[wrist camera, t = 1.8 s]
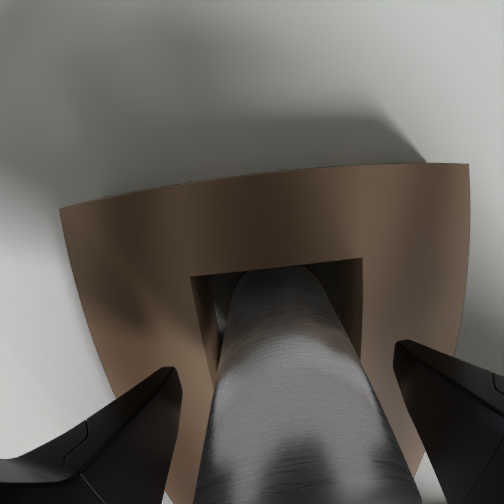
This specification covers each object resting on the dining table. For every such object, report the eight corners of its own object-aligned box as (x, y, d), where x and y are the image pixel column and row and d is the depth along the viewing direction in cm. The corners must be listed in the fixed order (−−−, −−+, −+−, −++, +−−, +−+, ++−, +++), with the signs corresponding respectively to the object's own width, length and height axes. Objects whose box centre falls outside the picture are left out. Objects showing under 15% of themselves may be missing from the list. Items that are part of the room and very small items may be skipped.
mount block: (428, 162, 11) (468, 164, 9) (388, 478, 17) (398, 508, 14) (98, 199, 12) (59, 208, 9) (197, 498, 17) (191, 529, 14)
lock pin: (323, 255, 13) (452, 452, 3) (326, 340, 14) (394, 546, 4) (224, 266, 13) (154, 490, 3) (237, 350, 14) (215, 567, 4)
